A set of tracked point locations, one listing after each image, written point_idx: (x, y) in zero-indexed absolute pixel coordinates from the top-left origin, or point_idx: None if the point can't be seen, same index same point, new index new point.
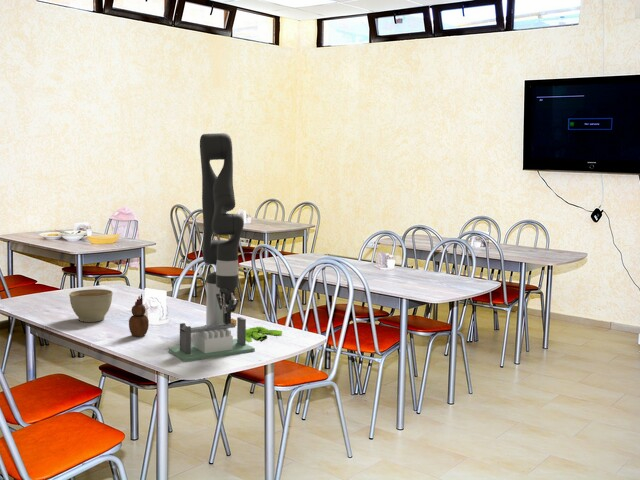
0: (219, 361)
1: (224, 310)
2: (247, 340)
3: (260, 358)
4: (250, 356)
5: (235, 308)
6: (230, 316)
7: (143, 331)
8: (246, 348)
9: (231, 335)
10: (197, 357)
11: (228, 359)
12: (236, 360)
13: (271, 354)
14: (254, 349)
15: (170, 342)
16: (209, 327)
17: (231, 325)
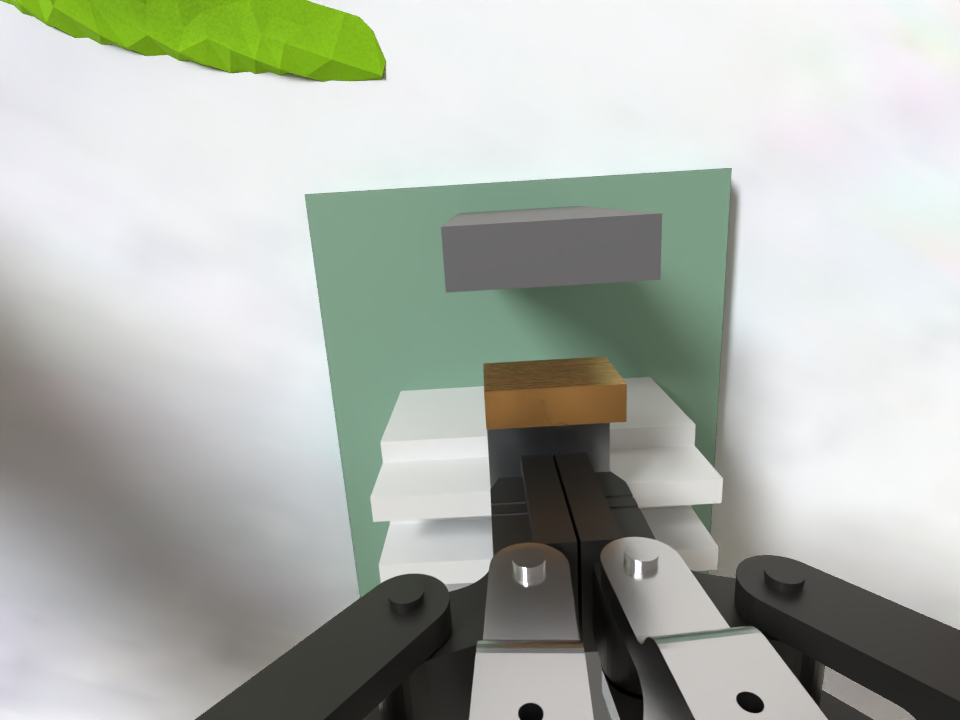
0: (819, 550)
1: (625, 708)
2: (333, 67)
3: (953, 223)
4: (844, 280)
5: (935, 625)
6: (647, 529)
7: None
8: (695, 249)
9: (662, 426)
10: None
11: (812, 475)
12: (874, 431)
13: (909, 58)
14: (727, 171)
15: (157, 684)
16: (598, 714)
17: (609, 438)
